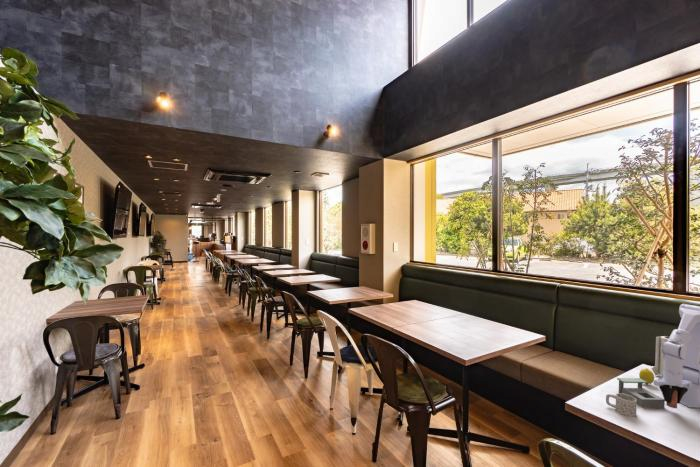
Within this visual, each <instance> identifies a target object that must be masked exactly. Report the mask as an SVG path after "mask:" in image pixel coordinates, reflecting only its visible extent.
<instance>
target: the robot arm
mask: <svg viewBox="0 0 700 467" xmlns="http://www.w3.org/2000/svg"><path fill="white" fill-rule="evenodd" d="M678 308H679V309H678V314H679V316H680V318H681V319H680V323H679V325H678V327H677V329H676V328H675V329H672V331H671V333H670V336H668V337H669V339H668V341H666V342H663V344H662V347H661V351H662V357H663V358H664V371H663V378H661V379H659V378H657V379H654V381H653V385H655V386H656V387H659V389H660V391H661V392H660V393H662V398H663V399H664V401H665V403H671V400H672V394H673V392H674V391H675V390H677V391H678V394H677V404H682V405H684V406H686V407H687V408H700V306H699V305H691V304H687V303H682V304H680V305H679V307H678ZM674 389H675V390H674Z"/></svg>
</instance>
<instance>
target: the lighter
mask: <svg viewBox="0 0 700 467" xmlns="http://www.w3.org/2000/svg"><path fill="white" fill-rule="evenodd" d="M650 368H651V371H652V373H653V374H654V377H655V376H658V379H661V378H663V374H662V375H660V374H659V373H658V371H657V370H656V368H655V365H654V366H653V365H652V366H650Z"/></svg>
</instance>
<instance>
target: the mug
mask: <svg viewBox="0 0 700 467" xmlns="http://www.w3.org/2000/svg"><path fill="white" fill-rule="evenodd" d="M610 398H612V399H615V404H614V403H611V402H610ZM605 402H606V404H607V405H608V406H610V407H612V408H613V409H615V412H616V413H618V414H620V415H622V416H625V417H629V418H636V417H637V408H638V407H637V406H638V405H637V399H636V398H634V397H632V396H630V395H627V394H623V393H619V392H617V393H616V394H609V393H608V394H606V396H605Z"/></svg>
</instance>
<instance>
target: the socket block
mask: <svg viewBox="0 0 700 467" xmlns="http://www.w3.org/2000/svg"><path fill="white" fill-rule="evenodd" d="M616 380H617V381H618V393H623V394H627V395H630V396H632V397H634V398H636V399H637V406H638V407H641V408H664V409H665V403H666V401H664V397H662V396H659V395H656V394H655V393H653V392H651V391H649V390H648V389H646V388H644V387H643V385H644V384H645V383H647V382H646V381H644V380H642V379H640V377H639V378H638V377H616ZM625 384H637V387H624V386H625Z"/></svg>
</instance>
